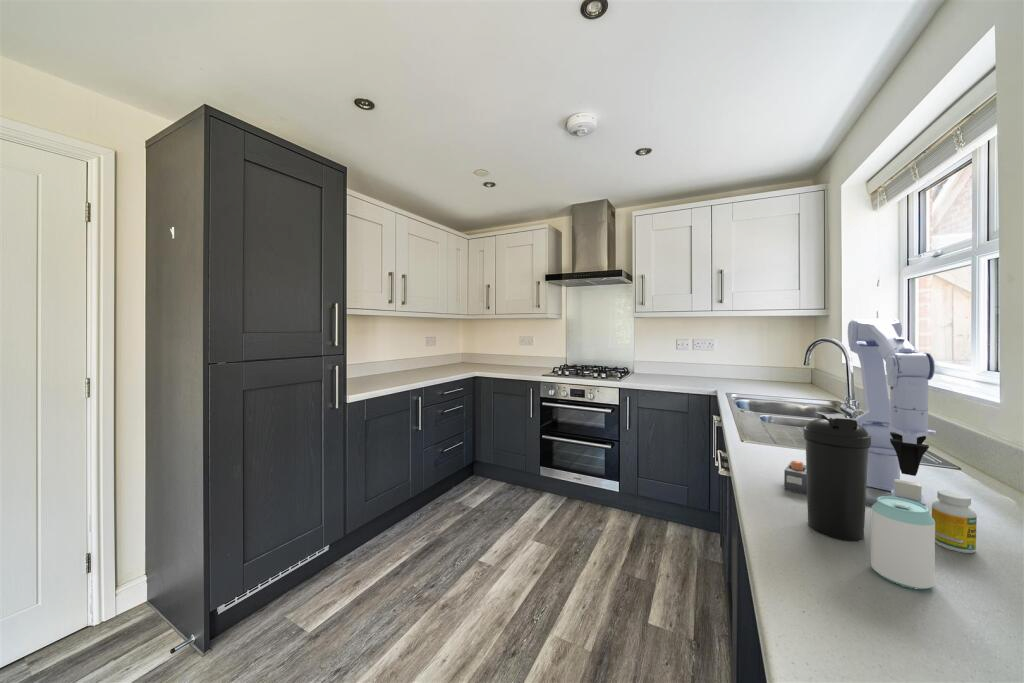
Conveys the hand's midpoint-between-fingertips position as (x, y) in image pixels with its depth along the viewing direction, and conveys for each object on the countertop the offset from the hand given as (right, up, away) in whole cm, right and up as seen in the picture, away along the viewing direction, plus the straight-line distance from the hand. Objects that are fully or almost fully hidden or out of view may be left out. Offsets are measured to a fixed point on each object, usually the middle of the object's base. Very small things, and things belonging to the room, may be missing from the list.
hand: (907, 469), depth 82 cm
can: (-24, -10, -22) cm, 34 cm away
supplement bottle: (-5, -10, -13) cm, 17 cm away
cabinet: (-13, -9, +13) cm, 21 cm away
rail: (-5, -9, +5) cm, 12 cm away
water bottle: (-22, -10, -7) cm, 25 cm away
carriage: (0, -9, 0) cm, 9 cm away
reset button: (-14, -7, +14) cm, 21 cm away
